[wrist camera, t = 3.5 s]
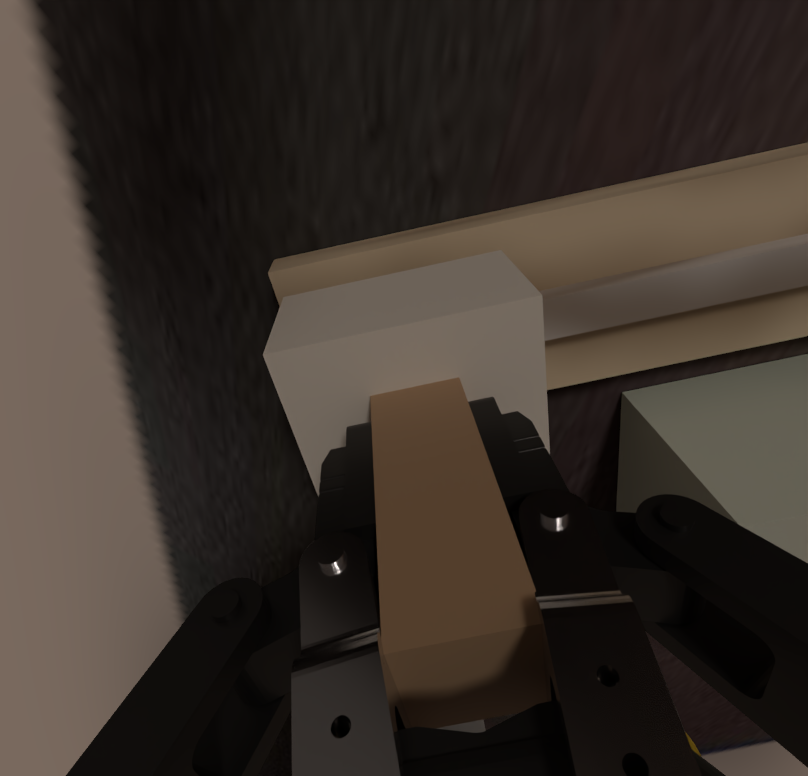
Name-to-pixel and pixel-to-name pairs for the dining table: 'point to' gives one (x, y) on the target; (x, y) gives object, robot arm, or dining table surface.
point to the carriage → (430, 465)
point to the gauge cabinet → (724, 447)
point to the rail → (627, 264)
